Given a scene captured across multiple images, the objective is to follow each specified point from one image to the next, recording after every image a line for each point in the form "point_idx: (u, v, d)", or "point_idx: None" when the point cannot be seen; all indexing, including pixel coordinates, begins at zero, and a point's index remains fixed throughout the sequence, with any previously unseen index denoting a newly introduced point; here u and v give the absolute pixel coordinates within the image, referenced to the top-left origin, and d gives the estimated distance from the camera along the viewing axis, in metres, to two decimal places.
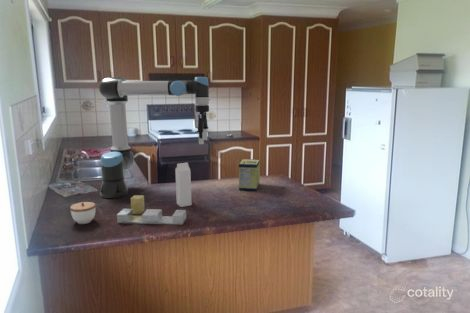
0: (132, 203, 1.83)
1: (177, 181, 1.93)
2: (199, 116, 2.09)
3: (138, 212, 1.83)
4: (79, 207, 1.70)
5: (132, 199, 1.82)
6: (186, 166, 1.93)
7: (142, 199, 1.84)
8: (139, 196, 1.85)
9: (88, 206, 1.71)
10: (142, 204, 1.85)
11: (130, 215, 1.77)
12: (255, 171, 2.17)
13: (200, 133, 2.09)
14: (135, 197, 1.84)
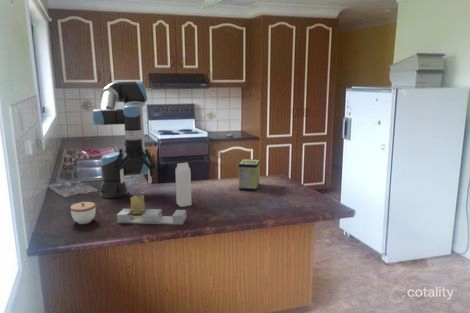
0: (132, 203, 1.83)
1: (177, 181, 1.93)
2: None
3: (138, 212, 1.83)
4: (80, 207, 1.70)
5: (132, 199, 1.82)
6: (186, 166, 1.93)
7: (142, 199, 1.84)
8: (139, 196, 1.85)
9: (88, 206, 1.71)
10: (142, 204, 1.85)
11: (130, 215, 1.77)
12: (255, 171, 2.17)
13: None
14: (135, 197, 1.84)
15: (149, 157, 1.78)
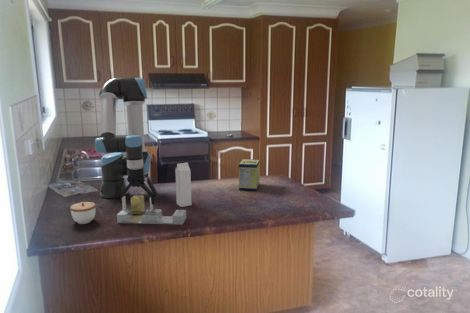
0: (132, 203, 1.83)
1: (177, 181, 1.93)
2: None
3: (138, 212, 1.83)
4: (80, 207, 1.70)
5: (132, 199, 1.82)
6: (186, 166, 1.93)
7: (142, 199, 1.84)
8: (139, 196, 1.85)
9: (88, 206, 1.71)
10: (142, 204, 1.85)
11: (130, 215, 1.77)
12: (255, 171, 2.17)
13: None
14: (135, 197, 1.84)
15: (151, 186, 1.81)
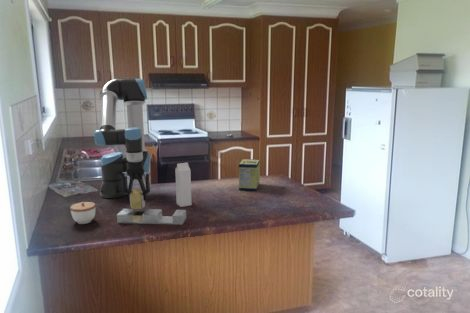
0: (132, 198, 1.83)
1: (177, 181, 1.93)
2: None
3: (137, 207, 1.83)
4: (80, 207, 1.70)
5: (132, 194, 1.82)
6: (186, 166, 1.93)
7: None
8: (139, 191, 1.85)
9: (88, 206, 1.71)
10: None
11: (130, 215, 1.77)
12: (255, 171, 2.17)
13: None
14: (134, 191, 1.84)
15: (147, 182, 1.81)
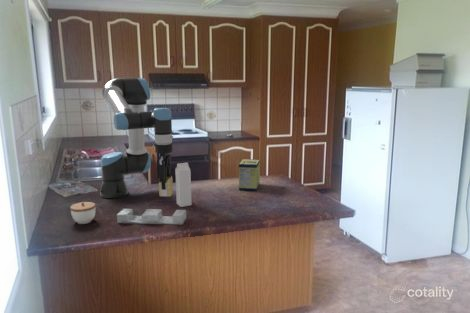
0: (170, 183, 1.69)
1: (177, 181, 1.93)
2: (159, 163, 1.63)
3: (172, 192, 1.73)
4: (80, 207, 1.70)
5: (170, 179, 1.69)
6: (186, 166, 1.93)
7: None
8: None
9: (88, 206, 1.71)
10: None
11: (130, 215, 1.77)
12: (255, 171, 2.17)
13: (162, 183, 1.67)
14: None
15: (170, 163, 1.75)
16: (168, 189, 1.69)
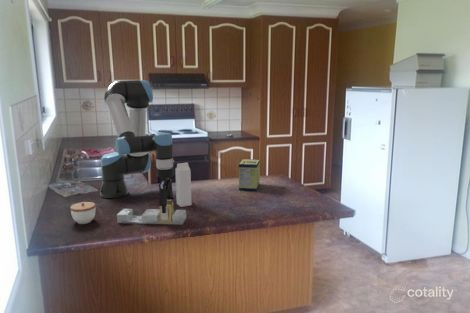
0: (171, 209, 1.72)
1: (177, 181, 1.93)
2: (160, 187, 1.65)
3: None
4: (80, 207, 1.70)
5: (171, 205, 1.72)
6: (186, 166, 1.93)
7: None
8: None
9: (88, 206, 1.71)
10: None
11: (130, 215, 1.77)
12: (255, 171, 2.17)
13: (163, 207, 1.68)
14: (167, 203, 1.72)
15: (171, 185, 1.78)
16: (169, 214, 1.72)
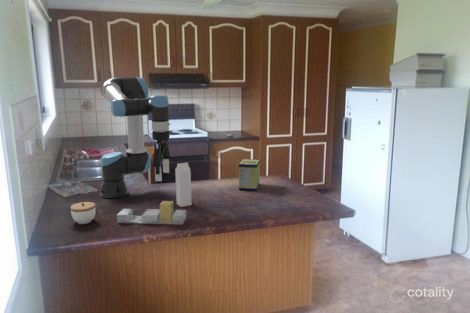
0: (171, 209, 1.72)
1: (177, 181, 1.93)
2: (155, 146, 1.63)
3: None
4: (80, 207, 1.70)
5: (171, 205, 1.72)
6: (186, 166, 1.93)
7: None
8: (165, 202, 1.74)
9: (88, 206, 1.71)
10: None
11: (130, 215, 1.77)
12: (255, 171, 2.17)
13: (156, 168, 1.64)
14: (167, 203, 1.72)
15: None
16: (169, 214, 1.72)
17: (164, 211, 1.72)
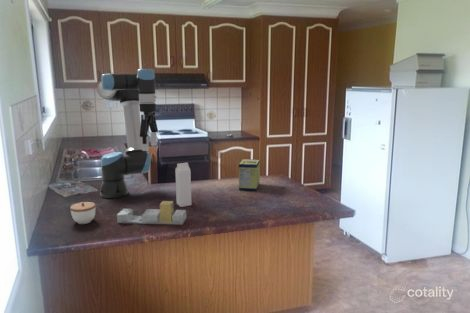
0: (171, 209, 1.72)
1: (177, 181, 1.93)
2: (142, 117, 1.71)
3: None
4: (80, 207, 1.70)
5: (171, 205, 1.72)
6: (186, 166, 1.93)
7: None
8: (165, 202, 1.74)
9: (88, 206, 1.71)
10: None
11: (130, 215, 1.77)
12: (255, 171, 2.17)
13: (143, 138, 1.71)
14: (167, 203, 1.72)
15: (155, 119, 1.85)
16: (169, 214, 1.72)
17: (164, 211, 1.72)
